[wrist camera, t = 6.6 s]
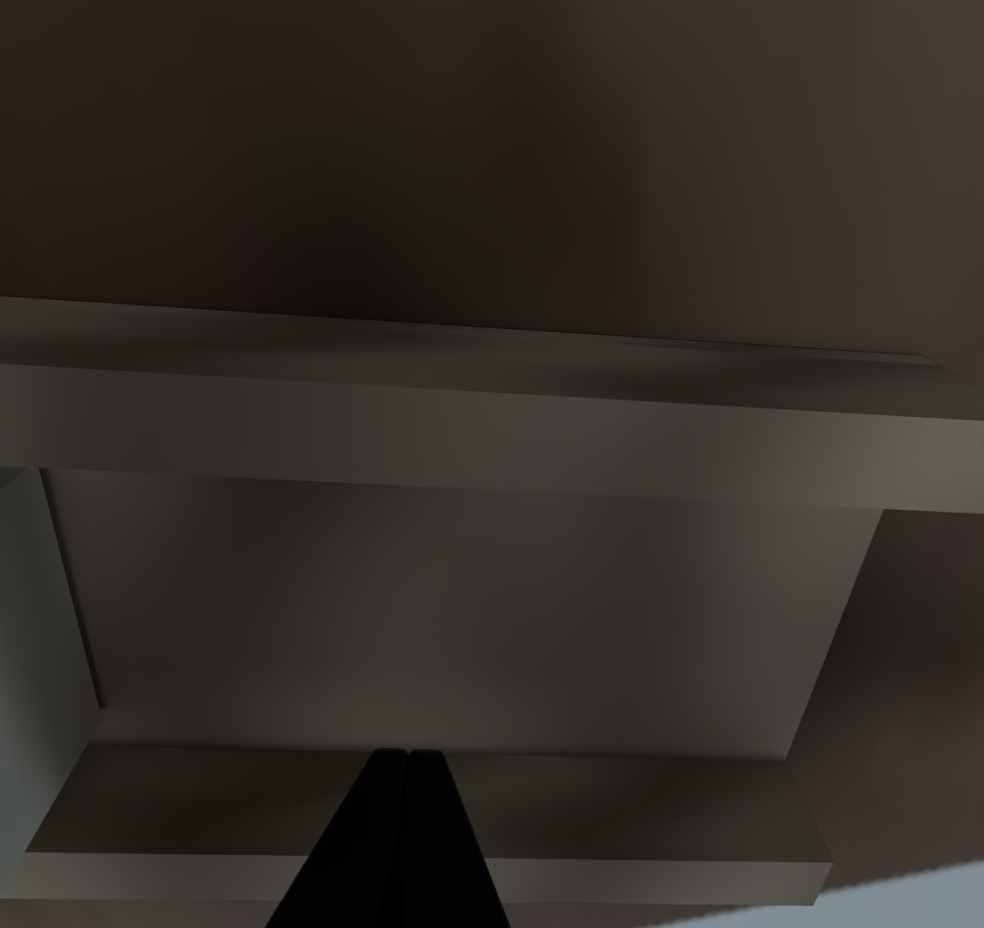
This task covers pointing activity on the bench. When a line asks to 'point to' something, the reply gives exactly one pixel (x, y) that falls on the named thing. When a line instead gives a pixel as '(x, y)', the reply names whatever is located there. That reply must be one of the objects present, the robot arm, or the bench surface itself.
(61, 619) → the block
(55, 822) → the chute
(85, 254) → the bench surface
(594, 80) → the bench surface
